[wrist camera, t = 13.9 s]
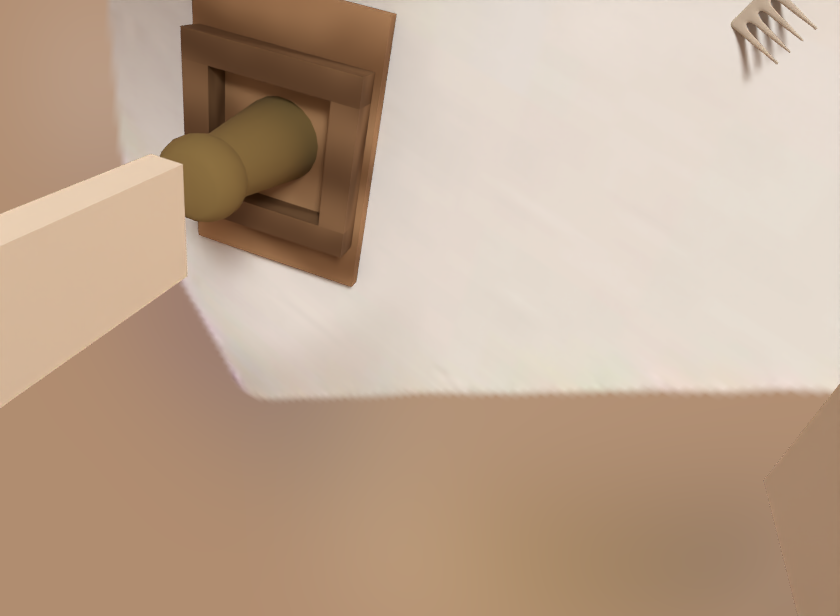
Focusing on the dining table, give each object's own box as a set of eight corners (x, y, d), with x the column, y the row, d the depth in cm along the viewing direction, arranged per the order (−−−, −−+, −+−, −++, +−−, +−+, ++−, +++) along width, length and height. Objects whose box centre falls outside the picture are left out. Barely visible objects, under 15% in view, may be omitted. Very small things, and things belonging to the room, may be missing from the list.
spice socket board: (200, -37, 39) (171, -37, 36) (396, 13, 36) (379, 17, 34) (205, 230, 50) (183, 244, 47) (356, 281, 47) (341, 298, 45)
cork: (235, 155, 44) (132, 205, 35) (253, 79, 40) (144, 113, 31) (304, 194, 44) (219, 254, 35) (328, 121, 40) (241, 167, 31)
